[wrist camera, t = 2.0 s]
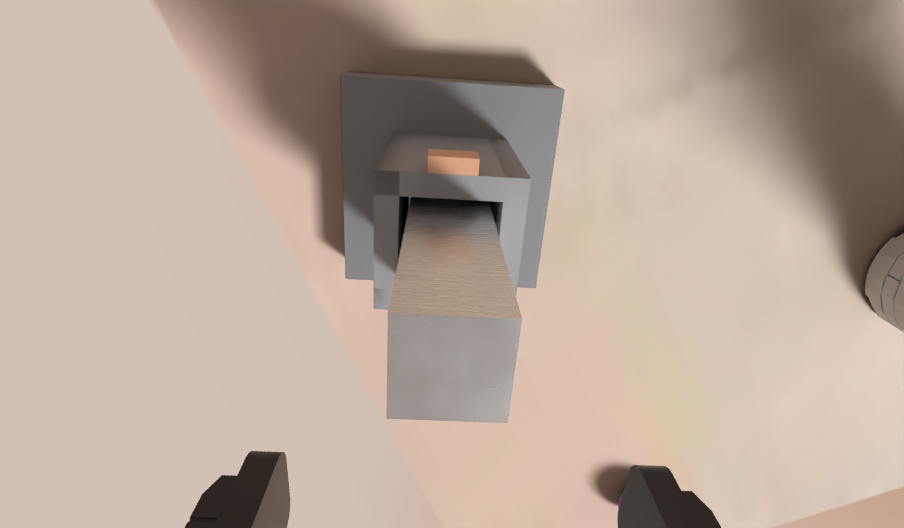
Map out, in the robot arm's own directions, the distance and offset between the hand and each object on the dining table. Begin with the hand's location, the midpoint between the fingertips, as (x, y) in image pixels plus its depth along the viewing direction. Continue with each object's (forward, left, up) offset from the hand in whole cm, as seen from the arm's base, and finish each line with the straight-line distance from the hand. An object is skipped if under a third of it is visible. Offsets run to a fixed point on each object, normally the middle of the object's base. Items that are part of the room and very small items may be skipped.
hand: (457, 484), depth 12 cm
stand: (0, 0, -28) cm, 28 cm away
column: (0, 0, -24) cm, 24 cm away
